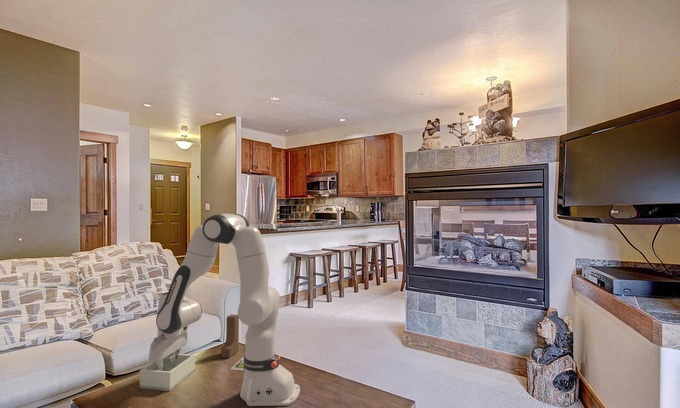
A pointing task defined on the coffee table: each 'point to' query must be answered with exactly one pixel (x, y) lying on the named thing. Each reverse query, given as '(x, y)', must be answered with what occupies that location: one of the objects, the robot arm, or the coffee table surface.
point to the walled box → (167, 374)
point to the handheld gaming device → (239, 365)
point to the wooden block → (231, 337)
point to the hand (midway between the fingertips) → (168, 364)
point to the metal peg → (169, 362)
